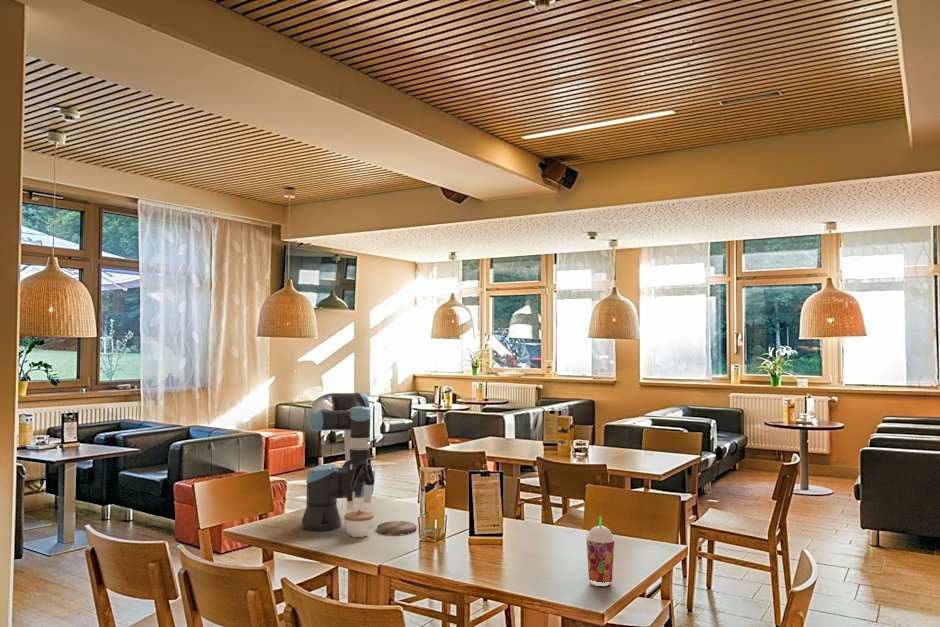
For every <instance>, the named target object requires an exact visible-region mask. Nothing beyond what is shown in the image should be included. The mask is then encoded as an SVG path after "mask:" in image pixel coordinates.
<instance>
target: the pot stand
mask: <svg viewBox="0 0 940 627" xmlns="http://www.w3.org/2000/svg"><path fill="white" fill-rule="evenodd" d="M376 527H377V528H376V530H377V532H378V533H379V532H380V533H379V534H381V533H383V534H382V535H386V534H391V535H390V536H401V535H400V534H406V535H409V534H408V533H411V534H413V533H415V532H417V529H418V528H417V524H416V523H415V522H410V521H406V520H405V521H404V520H396V521H395V520H394V521H393V520H392V521H386V522H381V523H379V524H377V526H376ZM412 532H413V533H412Z"/></svg>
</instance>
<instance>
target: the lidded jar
mask: <svg viewBox="0 0 940 627" xmlns="http://www.w3.org/2000/svg"><path fill="white" fill-rule="evenodd" d="M374 516H375V514H374V513H373V512H369V511H362V510H361V509H358V510H357V511H350V512H348V513H345V514H344V526H345V530H346V532H347V534H348V535H350V537H351V536H352V537H351V538H354V537H362V538H365V537H364V536H366V537H367V536H368V535H369V534H370V533H371V531H372V529H373V526H374Z"/></svg>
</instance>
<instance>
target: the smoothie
mask: <svg viewBox="0 0 940 627" xmlns="http://www.w3.org/2000/svg"><path fill="white" fill-rule="evenodd" d="M598 519H599V520H598V521H599V522H598V523H599V524H598V525H596V526H593V527H592V528H591V529H590V530H589V532H588V535H587V536H586V551H587V552H586V553H587V567H588V568H587V569H588V580H589V579H590V580H592V581H596V582H602V583H603V582H604V583H605V582H610V583H611V582H613V570H614V553H615V551H614V550H615V537H614V535H613V533H612V531H611V530H610V529H609V528H608V527H607V526H604V525H602V516H599V518H598ZM590 580H589V581H590Z"/></svg>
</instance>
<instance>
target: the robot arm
mask: <svg viewBox="0 0 940 627" xmlns="http://www.w3.org/2000/svg"><path fill="white" fill-rule="evenodd" d="M310 408H311V410H310V411H311V412H310V413H309V429H310V430H311V431H317V432H320V431H343V433H344V434H343V436H344V456H345V458H344V459H345V462H344V463H343V464H342V467H341V468H340V467H338V465H337V464H336V463H335V464H333V463H332V464H331V463H329V464H327V463H326V464H321V465H317V466H314V467H311V468H310V469H308V470H307V473H306V507H305V509H304V513H303V516H302V520H301V528H302V530H306V531H310V530H311V531H313V532H322V531H323V532H325V531H331V530H335V529H338V528H340V527H341V526H342V519H341V515H340V511H339V509H338V499H346V510H348V511H355V503H356V501H355V499H356V498H357V499H359V498H361V499H363V503H367V504H368V503H372V495H374V486H375V481H376V480H375V476H376V468H375V467H374V466H372V460H371V459H370V458H371V450H370V448H371V442H372V440H371V418H372V417H371V416H372V415H371V406H370V400H369V396H368V395H367V394H366V393H365V392H364V393H363V392H350V393H349V392H345V393H343V392H342V393H341V392H337V393H336V392H335V393H334V392H332V393H326V394H323V395H321V396H319V397H317V398H316V399H314V401H313V402H312V404H311V406H310ZM324 530H325V531H324Z"/></svg>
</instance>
